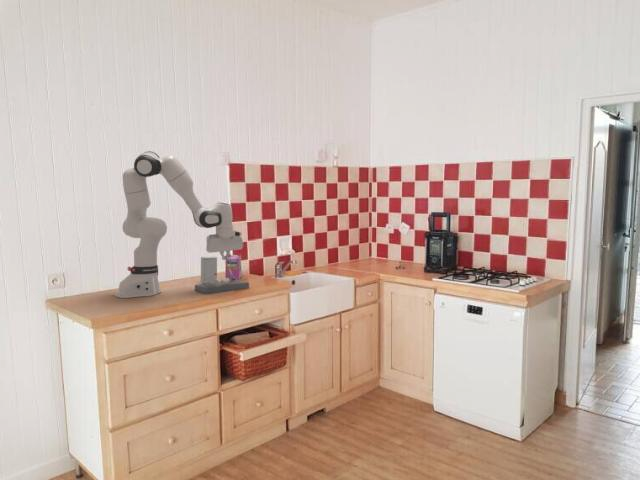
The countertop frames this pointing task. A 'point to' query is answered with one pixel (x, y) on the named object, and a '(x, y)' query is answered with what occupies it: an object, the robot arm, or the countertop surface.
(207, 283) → the grey button
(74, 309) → the countertop surface
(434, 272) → the countertop surface
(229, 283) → the panel
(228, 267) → the lever
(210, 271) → the skincare box
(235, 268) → the gum box
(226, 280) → the cream button
